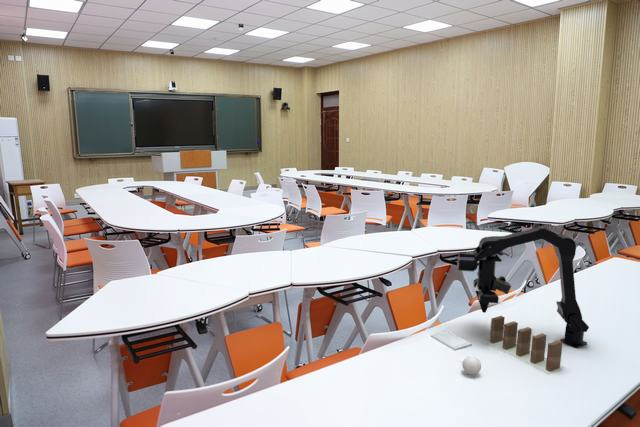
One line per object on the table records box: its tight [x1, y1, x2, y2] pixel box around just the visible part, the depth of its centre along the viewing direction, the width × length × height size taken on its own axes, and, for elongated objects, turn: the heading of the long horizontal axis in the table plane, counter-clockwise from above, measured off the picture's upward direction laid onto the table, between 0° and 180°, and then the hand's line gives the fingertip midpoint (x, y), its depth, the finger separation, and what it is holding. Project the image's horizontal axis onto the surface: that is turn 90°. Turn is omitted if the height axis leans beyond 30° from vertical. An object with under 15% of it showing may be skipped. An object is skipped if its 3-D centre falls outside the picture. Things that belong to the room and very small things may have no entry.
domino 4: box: [530, 333, 547, 364], centre depth 148 cm, size 2×5×9 cm, turn 119°
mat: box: [484, 340, 566, 375], centre depth 154 cm, size 9×25×1 cm, turn 29°
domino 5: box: [546, 339, 564, 372], centre depth 144 cm, size 2×5×9 cm, turn 119°
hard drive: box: [430, 329, 473, 352], centre depth 164 cm, size 2×8×12 cm
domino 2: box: [502, 321, 519, 350], centre depth 158 cm, size 2×5×9 cm, turn 119°
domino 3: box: [516, 326, 533, 357], centre depth 153 cm, size 2×5×9 cm, turn 119°
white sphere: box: [459, 355, 482, 376], centre depth 142 cm, size 8×6×6 cm
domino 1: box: [489, 315, 505, 344], centre depth 163 cm, size 2×5×9 cm, turn 119°
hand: (483, 312), depth 167 cm, fingers closed
